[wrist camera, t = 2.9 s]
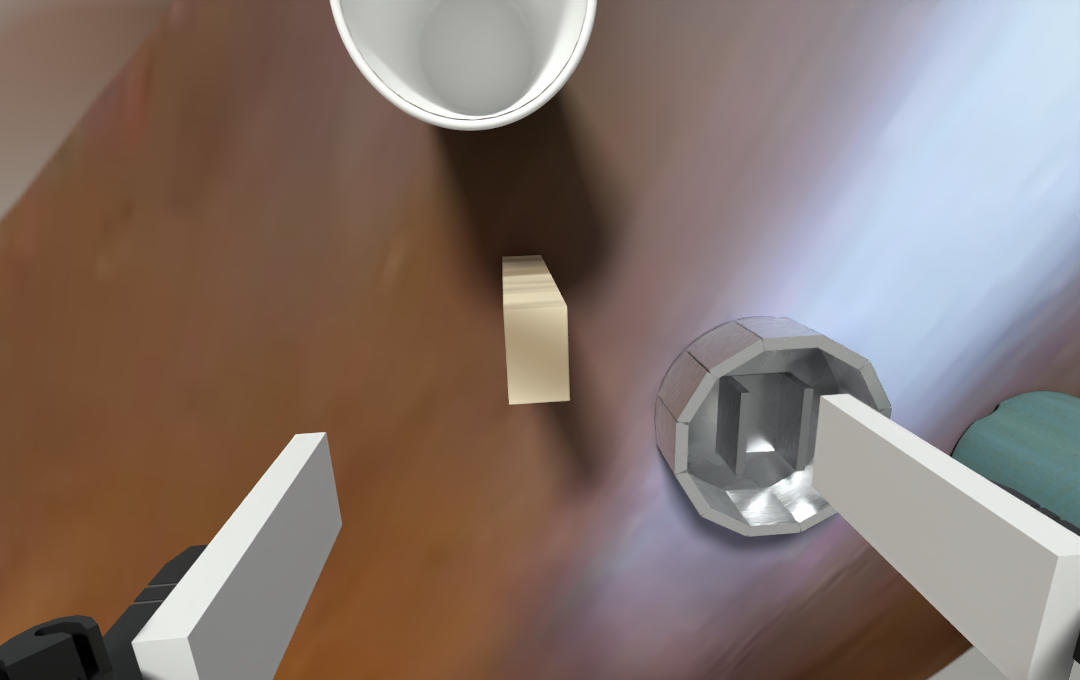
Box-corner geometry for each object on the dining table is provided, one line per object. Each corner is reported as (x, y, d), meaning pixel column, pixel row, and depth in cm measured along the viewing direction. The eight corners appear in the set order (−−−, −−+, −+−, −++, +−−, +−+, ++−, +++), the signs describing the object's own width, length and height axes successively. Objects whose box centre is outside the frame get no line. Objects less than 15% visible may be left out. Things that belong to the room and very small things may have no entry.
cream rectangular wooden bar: (502, 256, 36) (503, 309, 22) (540, 254, 36) (566, 306, 22) (506, 316, 37) (509, 404, 23) (543, 314, 37) (569, 400, 23)
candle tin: (656, 322, 38) (678, 343, 33) (853, 310, 39) (903, 329, 34) (652, 500, 42) (672, 542, 37) (831, 487, 43) (873, 526, 38)
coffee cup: (600, 49, 33) (653, -18, 21) (485, 182, 35) (477, 184, 23) (468, -93, 30) (448, -256, 19) (351, 56, 32) (268, -11, 21)
